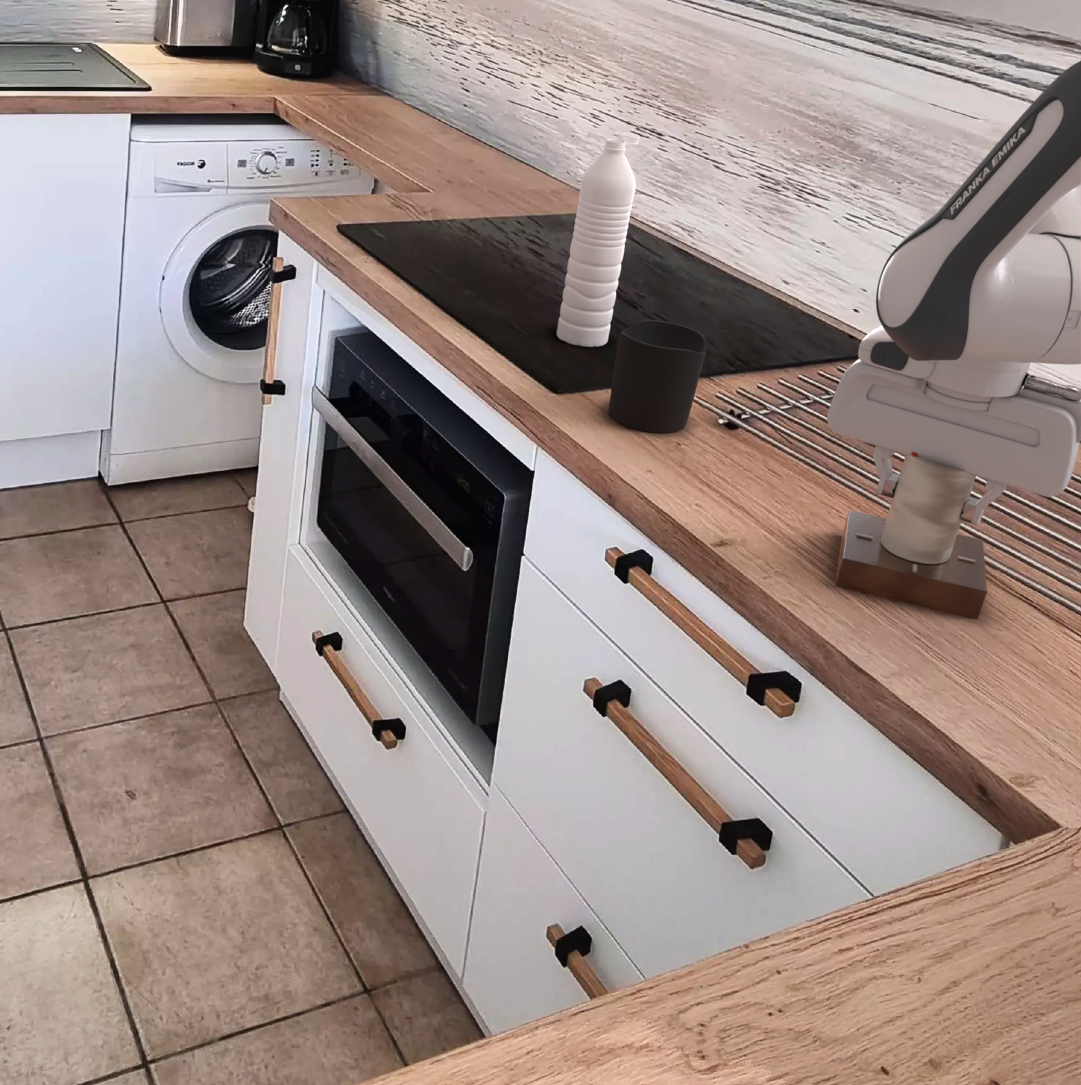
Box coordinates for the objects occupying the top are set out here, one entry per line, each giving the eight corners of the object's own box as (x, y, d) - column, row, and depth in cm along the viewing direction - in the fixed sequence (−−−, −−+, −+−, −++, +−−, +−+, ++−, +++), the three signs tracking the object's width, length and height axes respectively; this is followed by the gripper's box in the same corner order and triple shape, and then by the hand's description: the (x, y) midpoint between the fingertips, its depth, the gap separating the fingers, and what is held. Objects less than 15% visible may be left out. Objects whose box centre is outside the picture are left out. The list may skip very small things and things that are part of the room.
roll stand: (973, 568, 132) (983, 538, 130) (977, 621, 123) (987, 590, 121) (841, 537, 135) (849, 508, 134) (834, 588, 126) (843, 556, 124)
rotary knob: (931, 534, 130) (960, 441, 126) (962, 565, 125) (993, 469, 121) (869, 531, 130) (896, 437, 125) (897, 562, 124) (927, 466, 120)
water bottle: (595, 352, 176) (631, 148, 165) (547, 339, 179) (580, 137, 167) (622, 335, 183) (658, 138, 171) (575, 323, 186) (608, 128, 174)
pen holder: (705, 435, 155) (724, 348, 150) (628, 439, 152) (646, 350, 147) (663, 402, 163) (680, 319, 158) (589, 405, 160) (605, 320, 155)
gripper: (1110, 384, 117) (1057, 533, 123) (865, 320, 126) (827, 462, 133) (1097, 404, 112) (1042, 558, 118) (842, 336, 121) (804, 482, 128)
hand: (926, 507), depth 125 cm, fingers closed on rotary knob, 6 cm apart
